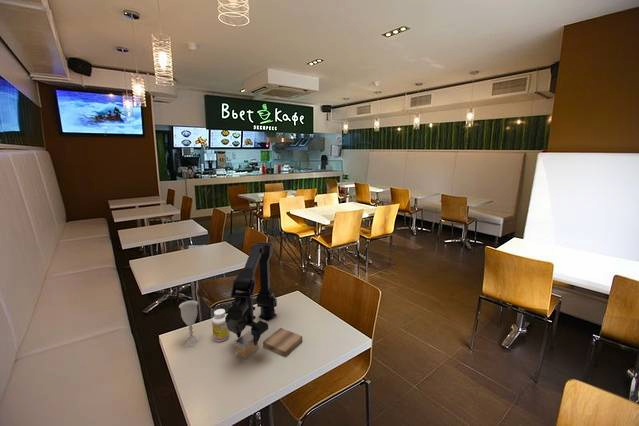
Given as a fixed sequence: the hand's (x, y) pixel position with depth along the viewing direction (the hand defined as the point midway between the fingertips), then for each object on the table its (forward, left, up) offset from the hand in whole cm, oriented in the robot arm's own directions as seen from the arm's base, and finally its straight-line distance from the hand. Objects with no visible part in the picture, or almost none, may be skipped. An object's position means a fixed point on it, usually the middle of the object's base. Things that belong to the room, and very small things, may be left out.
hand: (247, 341), depth 121 cm
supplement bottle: (-17, +1, -6) cm, 18 cm away
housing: (0, 0, -5) cm, 5 cm away
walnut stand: (+9, +12, -5) cm, 16 cm away
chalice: (-25, -8, -6) cm, 27 cm away
